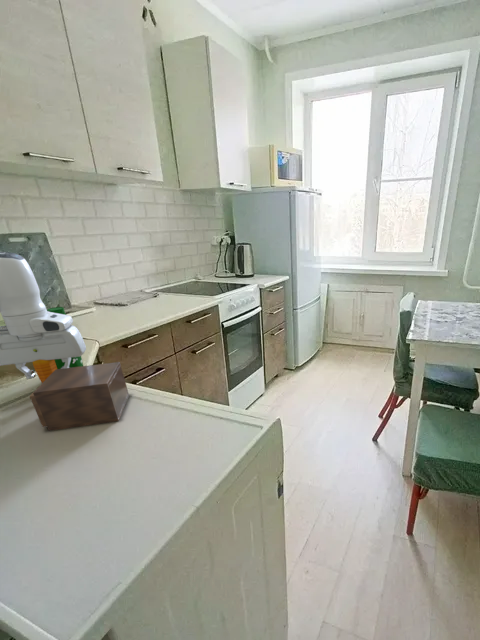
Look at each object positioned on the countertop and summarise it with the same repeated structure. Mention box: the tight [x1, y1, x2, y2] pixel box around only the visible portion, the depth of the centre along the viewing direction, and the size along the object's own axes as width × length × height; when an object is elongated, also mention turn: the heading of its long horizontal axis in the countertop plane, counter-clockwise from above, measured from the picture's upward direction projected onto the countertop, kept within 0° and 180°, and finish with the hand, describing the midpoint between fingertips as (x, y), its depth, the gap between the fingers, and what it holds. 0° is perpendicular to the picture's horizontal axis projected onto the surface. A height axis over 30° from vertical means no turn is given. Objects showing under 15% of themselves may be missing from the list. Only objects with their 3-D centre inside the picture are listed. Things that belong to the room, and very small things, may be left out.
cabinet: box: [32, 361, 130, 432], centre depth 82 cm, size 15×13×10 cm
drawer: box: [29, 392, 47, 428], centre depth 82 cm, size 15×11×8 cm
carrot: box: [31, 349, 57, 384], centre depth 90 cm, size 5×5×15 cm
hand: (49, 375), depth 90 cm, fingers open, 7 cm apart
